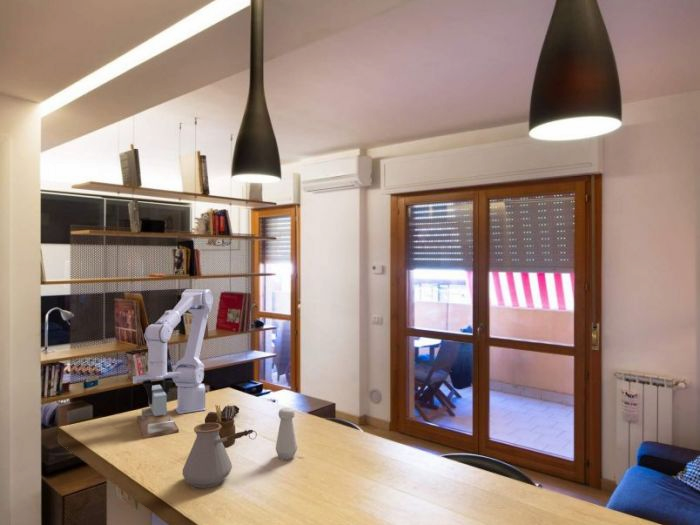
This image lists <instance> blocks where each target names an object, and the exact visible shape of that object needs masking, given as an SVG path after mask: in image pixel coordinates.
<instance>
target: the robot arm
mask: <svg viewBox="0 0 700 525" xmlns="http://www.w3.org/2000/svg"><path fill="white" fill-rule="evenodd" d="M180 297H181V298H180V299H179V301H178V302H177V304H176V305H175V306H174V308H173V309H169V310H165V311H164V314H162V315H161V317H160V318H159V319H158V320H157V321H156V322H154V323H152V324H150V325H148V326H147V327H146V328H145V332H144V333H143V338H144V340H145V342H146V347H147V349H148V350H147V355H148V356H147V374H140V375H134V376H132V384H133V385H134V384H135V385H136V384H138V383H142V384H143V387H144V389H145V391H146V394H147V398H148V405H149V404H152V386H153V384H152V382H157V381H162V389H163V390H164V392H165V393H166V395H167V396H168V393H169V391H170V389H171V387H172V385H173V383H174V384H175V386H176V387H177V402H176V403H177V405H176V406H175V407H174V410H175V411H176V412H177V414H178V415H181V414H186V413H194V412H200V411H206V386H205V383H202V382H203V381H204V377H205V372H204V371H205V364H204V363H203V362H202V361H201V359H200V354H201V350H202V346H203V342H204V337H205V331H206V328H207V327H206V326H207V323H208V319H209V318H208V317H209V314H210V313H211V311H212V308H213V307H212V306H213V303H214V296H213V293H212V291H211V290H210V289H209V288H207V289H206V288H205V289H193V288H192V289H190V288H186V289H185V290H184V291H183V292H182V293H181V296H180ZM187 311H188V312H189V313H191V314H192V320H191V321H192V322H191V325H190V330H189V334H188V338H187V342H186V347H185V351H184V356H183V357H182V358H181V359H179V360H178V361H177V362H176V364H175V367H174V368H173V371H168V341H170V339H171V337H172V334H173V332H174V329H175V328H176V327H177V326H178V324H179V323H180V322H181V321H182V318H181V317H182V316H183V315H184V314H185V313H186V312H187Z"/></svg>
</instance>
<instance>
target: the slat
mask: <svg viewBox="0 0 700 525" xmlns="http://www.w3.org/2000/svg"><path fill="white" fill-rule="evenodd" d="M167 397H168V394H167V395H166V393H165V392H164V390H163V386H162V385H161V384H155V385H153V384H152V404H149V403H148V405H149V408H151V410H152V412H153V414H154V416H158V415H165V414H167V412H168V408H167V407H168V406H167V405H168V404H167V402H168V401H167V399H168V398H167Z"/></svg>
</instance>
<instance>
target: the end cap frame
mask: <svg viewBox="0 0 700 525" xmlns="http://www.w3.org/2000/svg"><path fill="white" fill-rule="evenodd" d="M136 418H137V419H136V420H137V422H138V425H139V428H140V431H141V434H142V437H143V439H146V438H153V437H159V436H165V435H171V434H175V433H176V434H177V433H180V432H179V431H180V430H179V427H178V425H177V424H176V422H175V420H174V418H173V417H172V415H171V414H170V412H169V411H167V414H165V415H158V416H154V414H153V412H152V410H151V408H150V407H146V408H141V415H138V416H136Z"/></svg>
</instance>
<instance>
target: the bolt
mask: <svg viewBox="0 0 700 525" xmlns="http://www.w3.org/2000/svg"><path fill="white" fill-rule="evenodd" d="M232 405H233V404H232ZM232 405H229V406H228V405H225V406H224V407H223V409H222V410H221V416H220V418H222V417H231V416H232V415H233V416H232V418H234V419H235V417H236V416H237V415H238V414H239V413H240V408H239V407H238V406H237V405H233V406H232ZM227 406H228V407H227ZM230 406H231V408H230ZM227 408H228V409H227ZM232 408H233V410H232ZM229 409H230V411H229ZM225 412H227V415H226V414H225ZM232 412H234V413H232ZM229 414H230V415H229ZM231 414H232V415H231ZM217 419H219V416H218V415H217V412H216V411H209V412H208V413H207V414H206V416H205V418H204V423H216V420H217Z"/></svg>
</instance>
